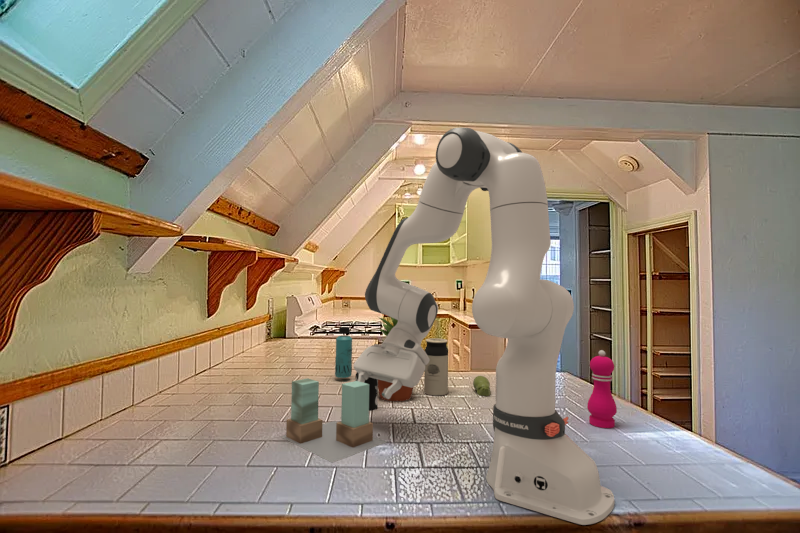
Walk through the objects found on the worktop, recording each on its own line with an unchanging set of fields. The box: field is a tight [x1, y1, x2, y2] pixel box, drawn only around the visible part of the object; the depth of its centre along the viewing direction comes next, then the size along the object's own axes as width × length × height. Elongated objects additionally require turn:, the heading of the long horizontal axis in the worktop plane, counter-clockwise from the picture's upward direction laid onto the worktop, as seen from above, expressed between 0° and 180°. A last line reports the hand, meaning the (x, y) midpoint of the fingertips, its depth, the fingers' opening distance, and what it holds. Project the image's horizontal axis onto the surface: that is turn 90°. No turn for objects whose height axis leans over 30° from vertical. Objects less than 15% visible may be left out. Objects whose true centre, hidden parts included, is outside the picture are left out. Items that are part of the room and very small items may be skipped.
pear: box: [472, 375, 491, 397], centre depth 147 cm, size 6×5×10 cm
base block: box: [336, 421, 374, 447], centre depth 99 cm, size 6×6×4 cm
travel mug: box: [423, 337, 449, 397], centre depth 145 cm, size 8×8×18 cm
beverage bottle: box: [334, 326, 353, 379], centre depth 162 cm, size 6×7×20 cm
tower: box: [285, 378, 323, 444], centre depth 101 cm, size 6×6×13 cm
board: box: [280, 420, 388, 464], centre depth 100 cm, size 20×16×1 cm
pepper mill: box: [587, 349, 618, 429], centre depth 116 cm, size 7×7×20 cm
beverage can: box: [354, 372, 379, 412], centre depth 125 cm, size 7×7×12 cm
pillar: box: [340, 380, 370, 428], centre depth 100 cm, size 4×4×9 cm
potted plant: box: [377, 316, 415, 402], centre depth 140 cm, size 15×15×30 cm
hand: (371, 393), depth 103 cm, fingers open, 8 cm apart
